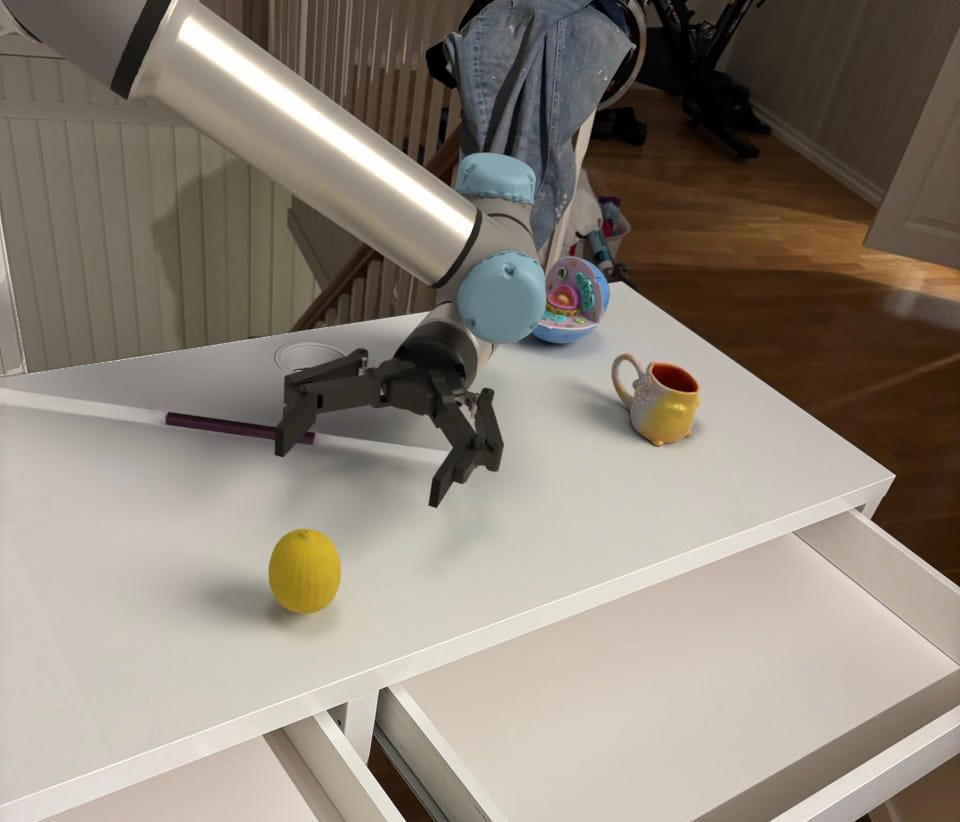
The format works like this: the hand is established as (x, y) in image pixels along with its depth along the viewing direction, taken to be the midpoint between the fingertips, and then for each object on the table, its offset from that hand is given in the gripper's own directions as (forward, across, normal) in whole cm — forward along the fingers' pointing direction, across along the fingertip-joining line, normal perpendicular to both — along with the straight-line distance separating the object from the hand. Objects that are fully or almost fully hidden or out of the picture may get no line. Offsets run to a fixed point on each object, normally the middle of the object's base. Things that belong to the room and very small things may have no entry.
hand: (355, 468), depth 79 cm
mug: (-37, -20, -9) cm, 43 cm away
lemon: (+9, 0, -8) cm, 12 cm away
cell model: (-50, -6, -9) cm, 51 cm away
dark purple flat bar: (-13, +17, -8) cm, 23 cm away
